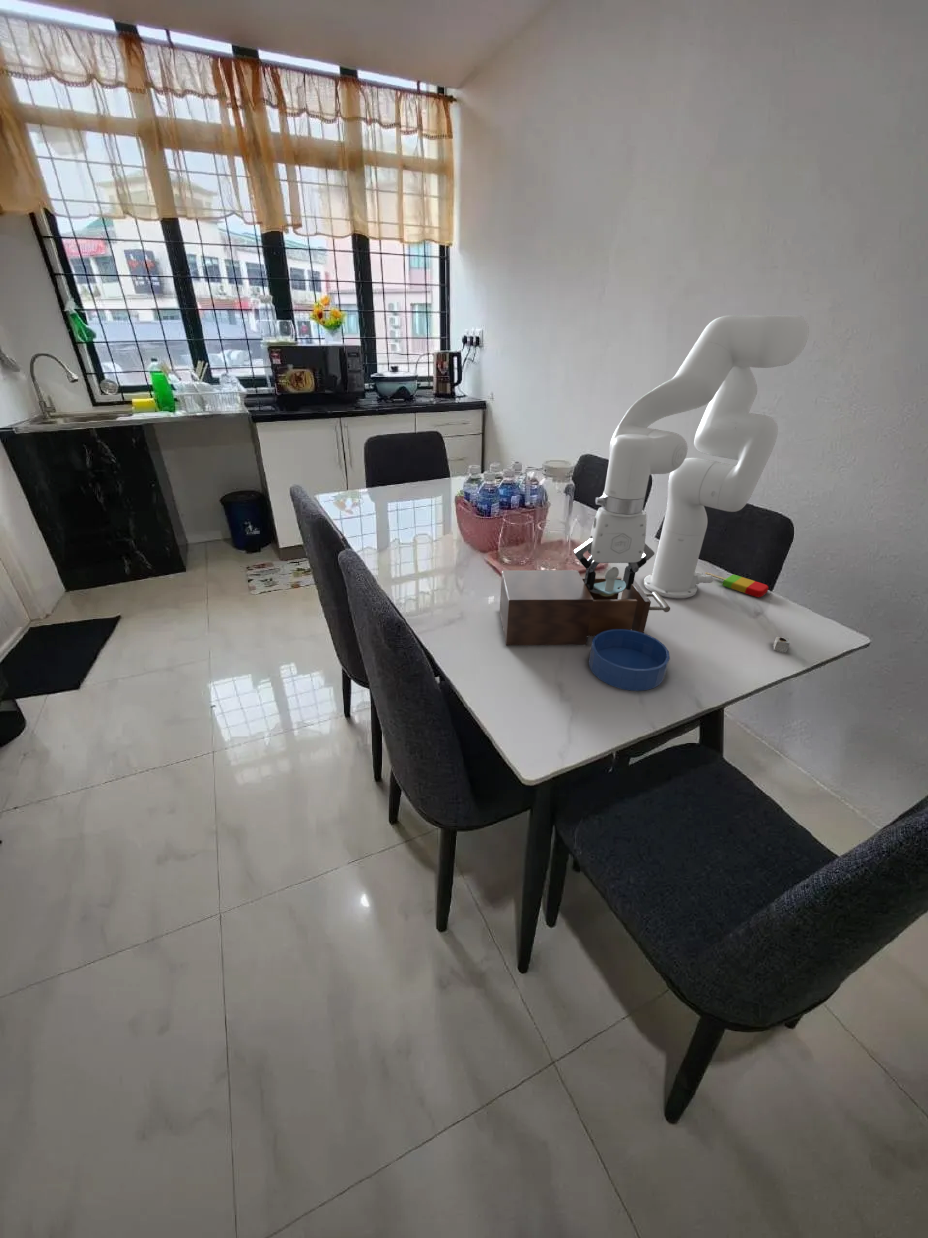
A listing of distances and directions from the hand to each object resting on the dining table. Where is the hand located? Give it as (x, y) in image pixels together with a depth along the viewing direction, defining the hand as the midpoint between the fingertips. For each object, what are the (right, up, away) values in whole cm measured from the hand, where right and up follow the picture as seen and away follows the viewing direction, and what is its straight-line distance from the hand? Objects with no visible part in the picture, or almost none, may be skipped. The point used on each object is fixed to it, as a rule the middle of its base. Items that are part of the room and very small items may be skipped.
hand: (607, 586), depth 104 cm
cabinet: (-13, -9, +5) cm, 17 cm away
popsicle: (+39, +2, +24) cm, 46 cm away
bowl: (+1, -16, -8) cm, 18 cm away
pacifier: (0, -1, +1) cm, 2 cm away
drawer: (+2, -8, +5) cm, 9 cm away
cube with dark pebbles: (+35, -13, -1) cm, 37 cm away
